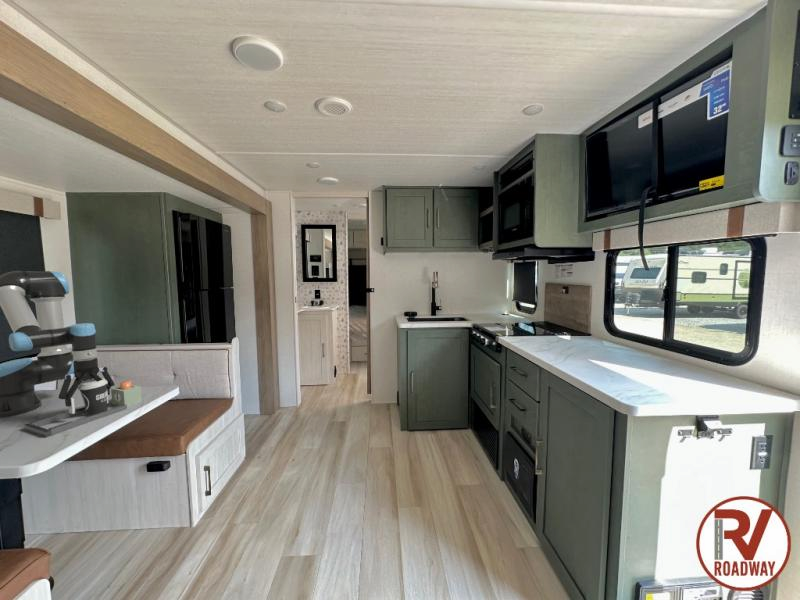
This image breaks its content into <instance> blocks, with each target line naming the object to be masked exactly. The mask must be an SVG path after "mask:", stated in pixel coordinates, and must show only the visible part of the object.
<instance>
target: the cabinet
mask: <svg viewBox="0 0 800 600" xmlns="http://www.w3.org/2000/svg"><path fill="white" fill-rule="evenodd" d="M141 389H142V387H141V386H140V385H135V384H131V388H128V389H124V390H121V389H120V385H119V386H115V387H111V388H110V396H111V404H112V405H114V406H120V405H123V404H126V405H127V407H129V406H132V405H135V404H138V403H141V402H143V401H142V390H141Z"/></svg>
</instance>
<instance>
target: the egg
mask: <svg viewBox="0 0 800 600" xmlns="http://www.w3.org/2000/svg"><path fill="white" fill-rule="evenodd" d="M131 385H132V381H131V380H126V381H125V380H124V381H122V382H120V383H119V386H120V389H121V390H124V389H128V388H131Z"/></svg>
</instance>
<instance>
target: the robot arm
mask: <svg viewBox="0 0 800 600" xmlns="http://www.w3.org/2000/svg"><path fill="white" fill-rule="evenodd" d="M69 293H70V284H69V281H68V278H67V276H66V275H64V273H62V272H60V271H51V270H46V271H45V270H38V271H37V270H34V271H33V270H28V271H27V270H25V271H23V270H14V271H10V272H9V271H8V272H6V273H3V274H1V275H0V308H1V310H2V311H3V312H2V313H3V314H4V316H5V318H6V320H7V322H8V324H9V326H10V328H11V330H12V332H13V333H12V332H11V333H10V334H9V336H8V344H9V347H10V349H11V350H12V351H13V352H23V351H30V350H37V349H39V350H40V352H39V353H38V354H37V356H36V359H32V358H31V357H24V358H19V359H13V360H9V361H8V360H7V361H5V362H2V363H0V419H3V418H10V417H15V416H18V415H23V414H27V413H30V412H33V411H36V410H37V408H38V409H40V408H41V407H43V404H42V403H43V402H42V400H41V398H40V397H39V396H38V394H37V393H36V391H35V386H37V385H41V384H45V383H50V382H55V381H60V380H61V381H62V380H63V383H62V386H61V388H60V392H59V394H58V398H57V399H61V400H64V402H65V407H67V408H68V410H69V413H71V414H74V413H75V408H76V407H75V399H74V397H73V396H74V394H75V393H76V392H77V390H78V387H79V385H80V384H81V383H82V382H83V381H86V380H89V379H95V380H97V381H100V380H102V379H101V378H102V377H103V378H105V380H107V382H108V383H107V384H106V385H107V403H108V404H109V399H108V398H109V397H108V396H111V388H112V387H114V386H115V382H114V380H113V379H112V377H111V375H110V373H109V372H108V367H107V366H101V367H99V363H98V362H99V361H98V358H97V357H98V349H97V340H96V339H97V338H96V336H97V334H96V332H97V330H96V327H95V324H94V323H91V322H86V323H75V324H72V325H70V326H69V325H68V326H65V322H64V314H63V306H62V301H63V300H64V299H65V298H66V297H65V296H66V295H69ZM25 296H26V297H29V300H30V301H31V302H33V303H34V304H35V311H36V317H35V314H34V313H33V311H32V308H31V307H30V305H29V303H28V301H27V299H26V297H25ZM67 345H71V350H70V349H68V347H67ZM99 372H101V375H102V377H100V376H99V375H98V373H99ZM73 378H75V379H74V380H73ZM72 380H73V383H72ZM71 383H72V384H71ZM70 385H71V386H70ZM39 407H40V408H39Z"/></svg>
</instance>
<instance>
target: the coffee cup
mask: <svg viewBox="0 0 800 600" xmlns="http://www.w3.org/2000/svg"><path fill="white" fill-rule="evenodd" d="M100 378H101V379H102V380H100V381H97V380H95V379H89V380H86V381H82V383H81V384H80V385H79V386H78V388H77V390H79V392H80V394H81V397H82V401H83V404H84V405H83V406H85V408H86V414H87V416H89V415H92V414H95V413H98V412H101V411H104V410H107V409H108V405H107V385H106V384H108V382H107V380H105V378H104V377H100Z"/></svg>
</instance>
